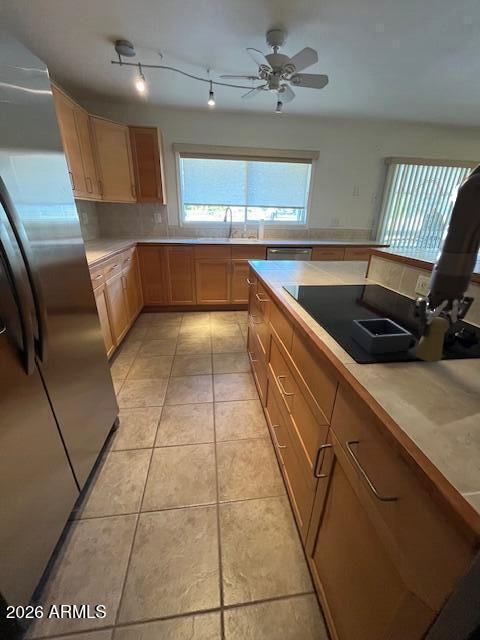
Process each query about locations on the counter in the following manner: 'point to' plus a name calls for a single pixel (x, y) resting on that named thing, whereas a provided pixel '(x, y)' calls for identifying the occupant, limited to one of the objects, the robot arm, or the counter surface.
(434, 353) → the cork
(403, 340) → the bin
